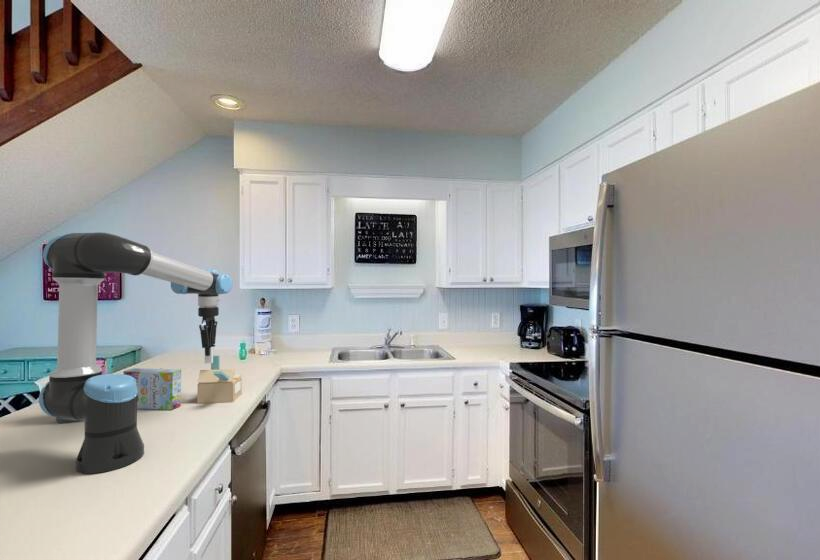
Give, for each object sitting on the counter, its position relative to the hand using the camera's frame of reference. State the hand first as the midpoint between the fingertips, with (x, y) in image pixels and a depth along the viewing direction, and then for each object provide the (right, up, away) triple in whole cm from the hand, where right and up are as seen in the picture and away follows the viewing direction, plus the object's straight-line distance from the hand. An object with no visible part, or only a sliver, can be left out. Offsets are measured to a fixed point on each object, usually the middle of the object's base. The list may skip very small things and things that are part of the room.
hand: (208, 362), depth 158 cm
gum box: (-57, -16, +11) cm, 60 cm away
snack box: (-19, -16, -7) cm, 26 cm away
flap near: (+3, -5, 0) cm, 6 cm away
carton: (+3, -16, +4) cm, 17 cm away
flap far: (+3, -8, +6) cm, 11 cm away
